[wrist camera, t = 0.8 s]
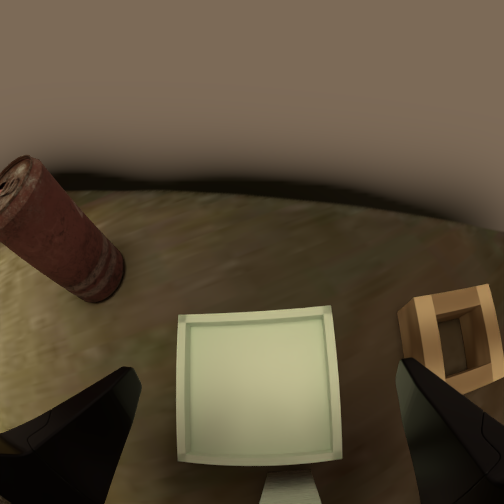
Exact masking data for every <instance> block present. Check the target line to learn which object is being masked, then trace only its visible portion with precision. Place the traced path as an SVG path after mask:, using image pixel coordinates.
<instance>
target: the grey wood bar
mask: <svg viewBox="0 0 504 504" xmlns="http://www.w3.org/2000/svg"><path fill="white" fill-rule="evenodd" d="M259 504H321V500H320V497H319V494H318V491H317V488H316V485H315V482H314V479H313V476H312V473H311V470H310V469H305V470H292V471H273V472H268V473H267V477H266V481H265V485H264V489H263V492H262V496H261V499H260V503H259Z"/></svg>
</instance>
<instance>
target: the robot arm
mask: <svg viewBox="0 0 504 504" xmlns="http://www.w3.org/2000/svg"><path fill="white" fill-rule="evenodd" d="M396 387H397V393H398V398H399V404H400V411H401V417H402V423H403V427H404V431H405V434H406V438H407V442H408V446H409V450H410V454H411V458H412V462H413V466H414V471H415V475H416V480H417V485H418V490H419V495H420V500H421V504H504V425H502V424H501V423H499V422H498V421H497V420H495V419H494V418H492V417H491V416H490V415H489V414H487V413H486V412H483V410H482V409H481V408H479V407H478V406H477V405H475V404H474V403H473V402H471V401H470V400H469V399H467V398H466V397H465V396H464V395H462V394H461V393H460V392H458V391H457V390H456V389H454V388H453V387H452V386H450V385H449V384H448V383H446V382H445V381H444V380H442V379H441V378H440V377H438V376H437V375H436V374H434V373H433V372H432V371H430V370H429V369H428V368H426V367H425V366H424V365H422V364H421V363H420V362H418V361H417V360H416V359H414V358H413V357H409V358H403V359H401V360H400V362H399V365H398V370H397V374H396ZM141 389H142V385H141V382H140V380H139V378H138V376H137V374H136V372H135V370H134V369H133V368H132V367H125V366H124V367H121V368H119V369H118V370H116V371H114V372H113V373H111V374H109V375H108V376H106V377H105V378H103V379H101V380H100V381H98V382H96V383H95V384H93V385H91V386H90V387H88V388H86V389H85V390H83V391H81V392H80V393H78V394H76V395H75V396H73V397H71V398H70V399H68V400H66V401H65V402H63V403H61V404H59V405H58V406H56V407H54V408H53V409H52V410H49V411H47V412H46V413H44V414H42V415H40V416H38V417H37V418H35V419H33V420H31V421H28V422H26V423H24V424H22V425H20V426H18V427H15V428H13V429H11V430H9V431H6V432H4V433H0V504H104V503H105V500H106V497H107V494H108V491H109V488H110V485H111V482H112V479H113V476H114V473H115V470H116V467H117V465H118V462H119V459H120V456H121V453H122V451H123V448H124V445H125V442H126V440H127V437H128V434H129V431H130V429H131V426H132V423H133V420H134V416H135V412H136V408H137V404H138V401H139V397H140V393H141Z"/></svg>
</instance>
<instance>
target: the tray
mask: <svg viewBox="0 0 504 504" xmlns="http://www.w3.org/2000/svg"><path fill="white" fill-rule="evenodd" d="M176 424H177V455H178V461H181V462H190V463H200V464H212V465H230V466H274V465H292V464H305V463H315V462H323V461H331V460H337V459H342V429H341V408H340V392H339V378H338V366H337V355H336V345H335V335H334V326H333V318H332V310H331V305H330V306H320V307H310V308H299V309H286V310H273V311H258V312H241V313H221V314H194V315H178V336H177V368H176Z"/></svg>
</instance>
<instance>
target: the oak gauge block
mask: <svg viewBox="0 0 504 504" xmlns="http://www.w3.org/2000/svg"><path fill="white" fill-rule="evenodd" d="M397 316H398V321H399V327H400V333H401V340H402V347H403V354H404V358H409V357H413V358H414V359H416V360H417V361H418V362H420V363H421V364H422V365H424V366H425V367H426V368H428V369H429V370H430V371H432V372H433V373H434V374H436V375H437V376H438V377H440V378H441V379H442V380H444V381H445V382H446V383H448V384H449V385H450V386H452V387H453V388H454V389H456V390H457V391H458V392H460V393H461V394H465V393H468V392H470V391H473V390H475V389H478V388H480V387H482V386H485V385H487V384H489V383H491V382H494V381H496V380H498V379H500V378H502V377H504V357H503V350H502V343H501V337H500V332H499V327H498V322H497V317H496V312H495V308H494V304H493V300H492V296H491V292H490V288H489V285H488V284H485V285H480V286H475V287H470V288H465V289H460V290H455V291H449V292H444V293H438V294H432V295H427V296H420V297H414V298H413V299H412V300H410V301H409V302H408V303H407V304H406V305H405V306H404V307H403V308H401V309H400V310H399V311H398V312H397ZM457 318H459V320H460V325H461V331H462V336H463V342H464V348H465V355H466V362H467V370H464V371H461V372H458V373H455V374H452V375H449V376H446V377H445V371H444V363H443V355H442V349H441V342H440V336H439V330H438V325H437V323H440V322H444V321H448V320H453V319H457Z"/></svg>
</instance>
